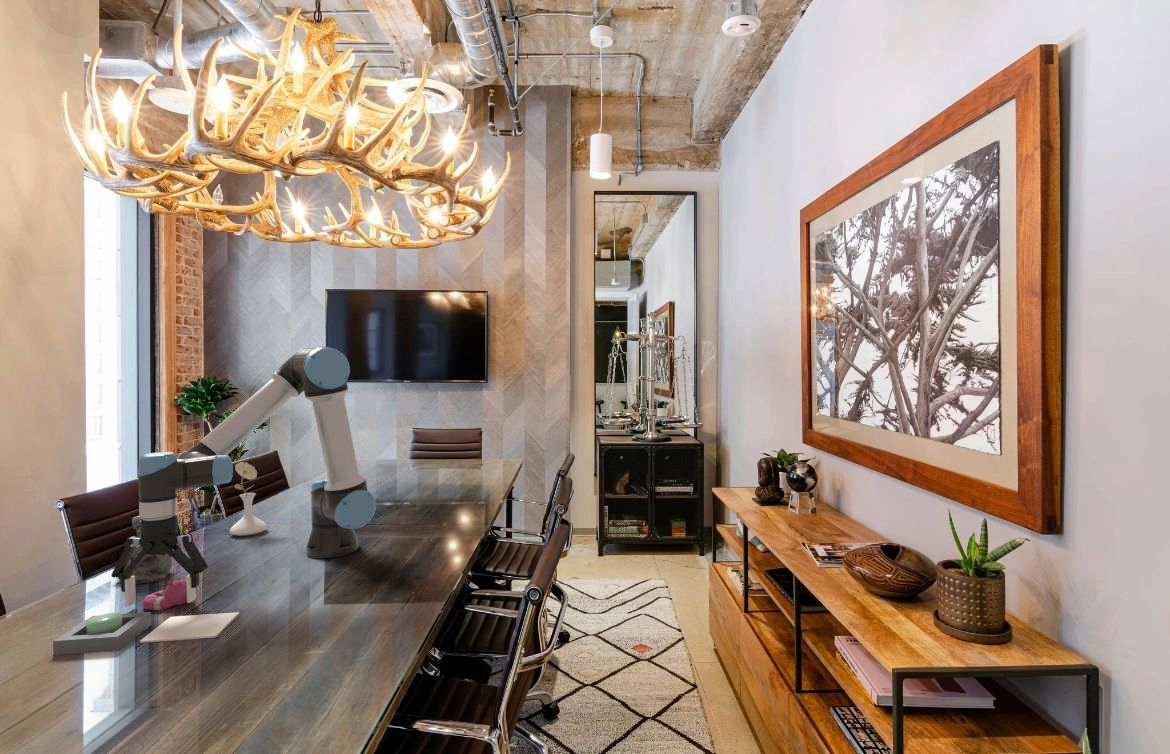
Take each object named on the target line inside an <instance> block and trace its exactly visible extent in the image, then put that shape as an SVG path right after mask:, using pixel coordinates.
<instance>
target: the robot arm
mask: <svg viewBox="0 0 1170 754" xmlns="http://www.w3.org/2000/svg"><path fill="white" fill-rule="evenodd" d="M350 373H351V367H350V362H349V360H348V359H347V357H346V355H345V354H344V353H342V352H341V351H339V350H338V349H335V348H332V347H329V346H318V347H305V348H302V349H299V350H298V351H296V352H295V353H293V355H291V356H290V357H289V358H288V359H287V360H286V361H284V363H282V364H281V365H280V366H279V367H278V368H277V369H275V371H274V372H273V373H271V379H270V380H269V381H267V382H266V383H265V384H264V385H263V386H261V387H260V388H259V389H258V390H257V391H256V392H255V393H254V394H252V396H250V397H249V398H248V399H247V400H245V401H244V402H243V403H242V404H241V405H240V406H239V407H238V408H236V409H235V410H234V411H233V412H232V413H231V414H229V415H228V416H227V417H226V418H224V420H223V421H222V422H220V423H218V425H217V426H215V427H214V429H212V430H211V431H210V432H209V433H207V434H206V435H205V436H204V437H203V438H202V439H201V440H199V441H198V443H196V444H194V445H193V447H191V448H190V449H187V450H185V451H182V452H181V453H179V454H178V455H177V454H176V453H175V452H172V451H163V452H162V451H158V452H151V453H150V452H149V453H146V454H142V455H141V456H140V457H139V459H138V467H137V468H138V471H137V479H138V480H137V481H138V484H137V485H138V497H139V498H138V508H139V509H138V512H139V513H138V514H139V515H138V516H139V517H140V518H142V519H141V520H140V534H141V538H137V535H133V536H131V537H129V538H126V540H125V543H124V549H123V550H122V553H121V555H120V557H119V559H118V561H117V562H116V564H115V566H114V567H115V568H113V570H112V573H111V575H110V576H111V578H117V579H118V578H120V579H121V582H120V587H121V589H120V590H121V593H124V599H125V605H124V607H126V608H128V607H131V606H132V605H133V604H135V603H136V601H137V599H136V584H135V576H131V577H130V575H132V573H133V572H134V571H135V570H136V568H137V567H138V566H139V565H140V564H141V563H142V562H143V560H144V559H145V558H146V557H147V556H148V555H151V556H155V555H166V554H168V555H169V556H170V557H171V558H172V559H173V560H175V561H176V562H177V564H179V566H181V567H182V569H184V571H186V572H187V574H188V575H186V576H185V577H186V579H185V580H186V583H187V602H186V603H187V604H188V603H189V604H190V603H192V602H193V601H194V600H195V599H197V590H196V589H197V588H198V587H199V586H200V573H203V572H204V571H206V570H207V569H208V567H209V566H208V564H207V563H206V561H205V560H204V557H203V556H202V554H201V553H200V551H199V548H198V547H197V546H196V544H195V542H194V537H193V534H192V533H190V532H189V533H187V534H185V535H179V533H178V530H179V522H178V521H179V519H178V518H179V517H178V515H177V513H178V490H185V489H193V488H201V487H211V486H218V485H223V484H228V483H230V482H231V481H232V480H233V479H232V478H233V475H234V474H233V473H234V468H233V467H234V465H233V462H232V461H233V460H232V458H231V457H230V455H229V454H230V453H231V452H232V451H233V450H234V449H236V447H238V446H239V445H241V443H242V442H243V441H244V440H245V439H246V438H248V437H249V436H250V435H251V434H252V433H254V432H255V431H256V429H258V428H259V427H260V426H261V425H262V424H263V423H265V422H266V421H267V420H268V419H269V418H270V417H272V415H273V414H274V413H276V412H277V411H278V410H279V409H280V408H281V407H282V406H284V405H285V404H286V402H288V401H289V400H290V399H291V398H293V397H294V398H296V397H299V396H300V395H301V394H302V393H303V392H304V397H305V399H306V400H309V401H310V402H311V403H312V408H313V412H314V417H315V422H316V428H317V432H318V436H319V441H320V447H321V452H322V457H323V461H324V467H325V472H326V476H327V478H322V479H317V480H314V481H313V482H312V483H311V490H310V498H311V499H310V500H311V502H310V503H311V505H310V506H311V532H310V534H309V538H308V541H307V543H306V548H305V549H306V551H305V552H306V553H305V554H306V556H307V557H310V558H313V559H331V558H333V559H334V558H338V557H342V556H343V557H344V556H346V555H350V554H352V553H354V552H356V551H357V550H358V549H359V540H358V536H357V534H356V531H355V530H356V529H360V528H362V527H364V526H366V525H367V524H368V523H370V521H371V520H372V519H373V517H374V515H375V514H376V513H375V512H376V509H377V501H376V498H375V496H374V495H373V494H372V493H371V492H370V491H369V488H368V485H367V484H368V483H367V479H366V476H364V475H362V474H360V473H359V468H358V463H357V458H356V452H355V448H354V441H353V436H352V431H351V426H350V420H349V416H348V411H347V406H346V402H345V395H346V393H347V392H348V391H349V388H348V387H349V386H348V378H349V376H350ZM178 543H180V544H181V545H182V546H183V549H184V550H185V552H186V554H185V553H184V551H183V550H182V547H180V546H179V545H178ZM138 544H140V545H141V546H142V548H143V550H142V551H141V552H140V553H139V554H138V556H137V557H136V558H135V559H134V561H133V562H132V563H131V564H130V565H129V566H128V567H127V569H126V570H125V571H124V569H125V567H126V565H127V563H128V561H129V560H130V557H131V555H132V553H133V552H134V550H135V547H136V546H137V545H138Z"/></svg>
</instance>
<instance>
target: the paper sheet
mask: <svg viewBox="0 0 1170 754" xmlns="http://www.w3.org/2000/svg"><path fill="white" fill-rule="evenodd" d="M239 615H240V612H239V611H237V612H225V613H224V612H223V613H207V614H195V615H194V614H193V615H178V616H177V615H176V616H169V617H168V618H167V619H166V620H165V621H163V622H162V623H161V624H159V625H158V626H157V627H156V628H155V629H152V631H150V632H149V633H148V634H147V635H146V636H144V637H143V638H142V639H140V640H139V643H140V644H142V643H145V644H146V643H155V642H156V643H157V642H170V641H171V642H172V641H184V640H186V641H187V640H199V639H201V640H202V639H212V638H213V639H214V638H217V637H218V636H219V635H220V634H221V633H222V632H223V630H225V628H227V627H228V626H229V625H230V624H231V623H232V622H233V621H234V620H235V619H236V618H237V617H238V616H239Z"/></svg>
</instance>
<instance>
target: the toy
mask: <svg viewBox="0 0 1170 754" xmlns="http://www.w3.org/2000/svg"><path fill="white" fill-rule="evenodd" d="M166 583H167V587H166V588H165V589H162V590H159V591H156V592H152V593H150V594H148V595H146V596H145V597H144V599H143V601H142V607H143V609H146V610H149V611H150V610H151V611H165V610H167V609H169V608H171V607H172V606H173V607H174V606H182V605H184V604H186V603H187V583H186V579H184V578H183V579H182V578H177V579H176V580H174V581H172V580H168V581H167V582H166Z"/></svg>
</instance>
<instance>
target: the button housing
mask: <svg viewBox="0 0 1170 754" xmlns="http://www.w3.org/2000/svg"><path fill="white" fill-rule="evenodd" d="M121 614H122V627H121V628H119V629H118V630H117V631H115V632H114V633H105V634H90V635H87V630H86V622H87V621H88V620H89V619H91V618H93V617H96V616H97V615H92V616H90V617H88V618H87V619H85V620H84V621H82V622H81V623H79V624H77V625H76V626H74V627H73V628H71V629H70V630H68V631H66V632H65V633H63V634H62V635H61V636H59V637H57V638H56V639H54V640H52V649H53V650H52V653H53V656H63V655H64V656H65V655H77V654H92V653H104V652H119V651H120V650H121V649H122V648H123V647H125V646H126V645H128V644H129V643H130V642H131V641H132V640H134V639H135V638H137V637H139V635H141V634H142V633H143V632H144V631H146V630H147V629H148V628H150V626H152V612H151V611H145V612H131V613H121Z"/></svg>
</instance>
